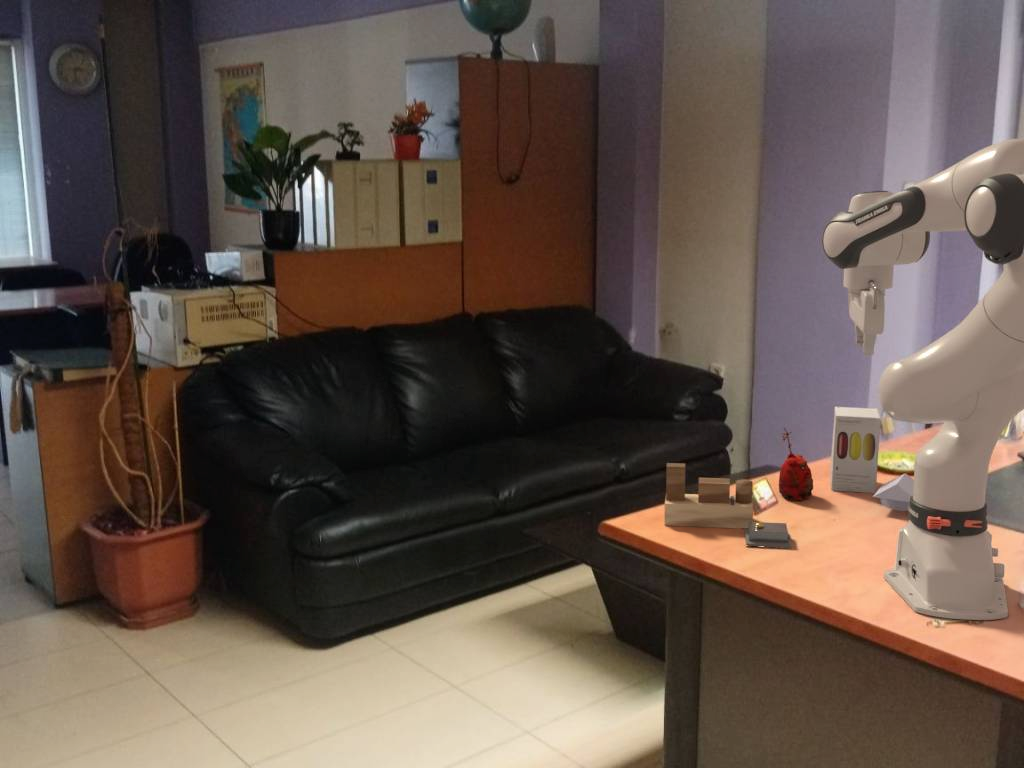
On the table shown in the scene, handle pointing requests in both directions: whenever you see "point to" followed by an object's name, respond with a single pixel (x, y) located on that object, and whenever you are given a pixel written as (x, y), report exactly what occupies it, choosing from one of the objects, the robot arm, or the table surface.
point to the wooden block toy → (706, 501)
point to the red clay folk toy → (795, 476)
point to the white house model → (896, 493)
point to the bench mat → (766, 544)
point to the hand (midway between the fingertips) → (864, 350)
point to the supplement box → (855, 449)
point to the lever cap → (767, 532)
